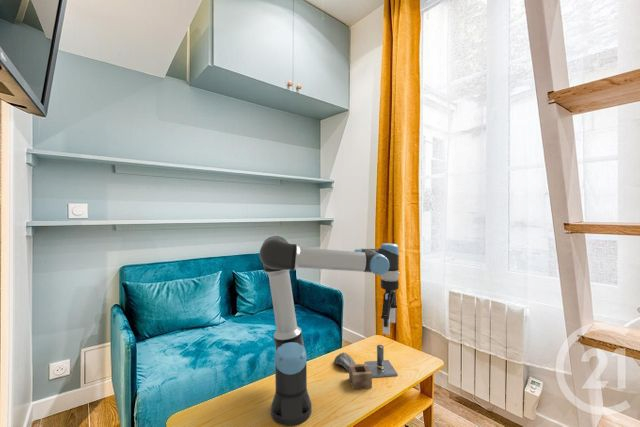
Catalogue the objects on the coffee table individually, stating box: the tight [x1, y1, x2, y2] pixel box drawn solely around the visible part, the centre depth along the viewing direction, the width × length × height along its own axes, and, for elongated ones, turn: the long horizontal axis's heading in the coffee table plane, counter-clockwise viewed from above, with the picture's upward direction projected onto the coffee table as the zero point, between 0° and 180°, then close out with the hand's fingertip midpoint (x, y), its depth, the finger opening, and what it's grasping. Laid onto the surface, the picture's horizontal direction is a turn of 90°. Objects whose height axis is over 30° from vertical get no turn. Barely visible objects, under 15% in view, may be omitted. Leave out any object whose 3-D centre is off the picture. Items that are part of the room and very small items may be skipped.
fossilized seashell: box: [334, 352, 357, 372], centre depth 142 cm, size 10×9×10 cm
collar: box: [348, 363, 373, 390], centre depth 128 cm, size 8×8×6 cm
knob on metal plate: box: [363, 344, 398, 379], centre depth 138 cm, size 12×12×11 cm
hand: (389, 327), depth 129 cm, fingers open, 13 cm apart
